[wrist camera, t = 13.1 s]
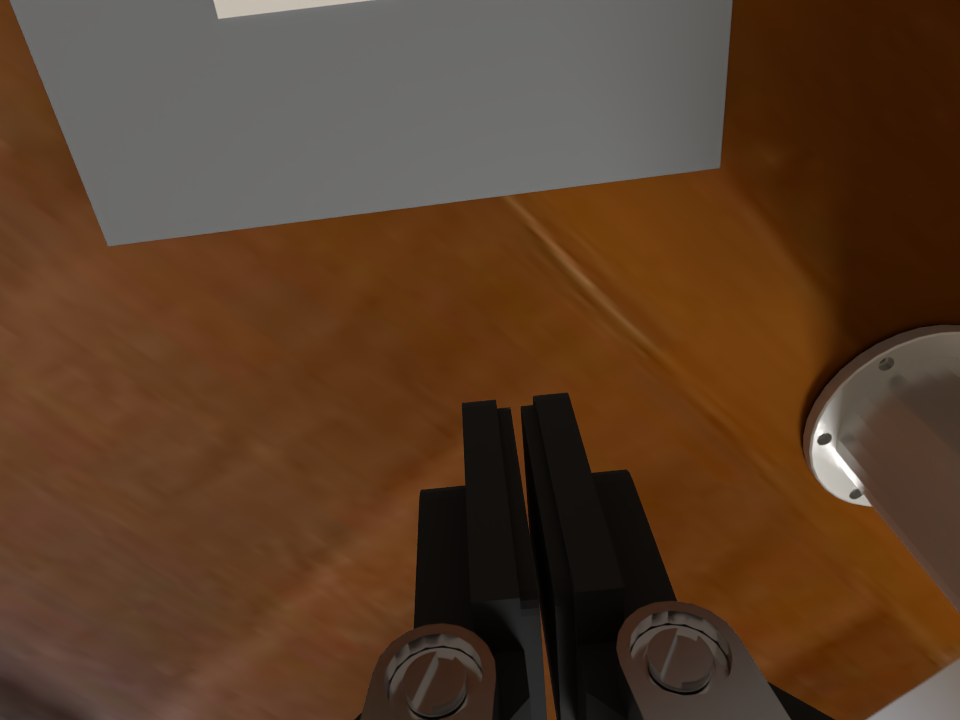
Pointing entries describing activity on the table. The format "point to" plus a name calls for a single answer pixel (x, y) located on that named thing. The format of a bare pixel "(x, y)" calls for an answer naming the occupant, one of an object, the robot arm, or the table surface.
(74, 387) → the table surface
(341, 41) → the label board
